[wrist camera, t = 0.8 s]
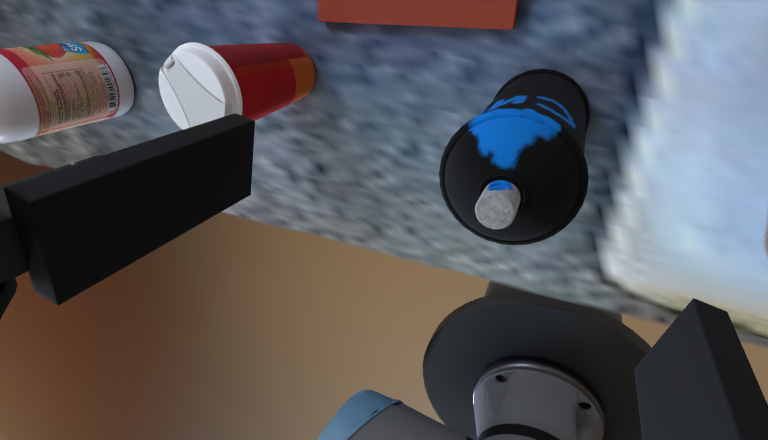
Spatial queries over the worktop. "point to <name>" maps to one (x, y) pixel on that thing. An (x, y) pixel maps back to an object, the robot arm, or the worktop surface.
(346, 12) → the pad
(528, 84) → the aerosol can
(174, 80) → the paper cup
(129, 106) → the fruit juice
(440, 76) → the worktop surface
